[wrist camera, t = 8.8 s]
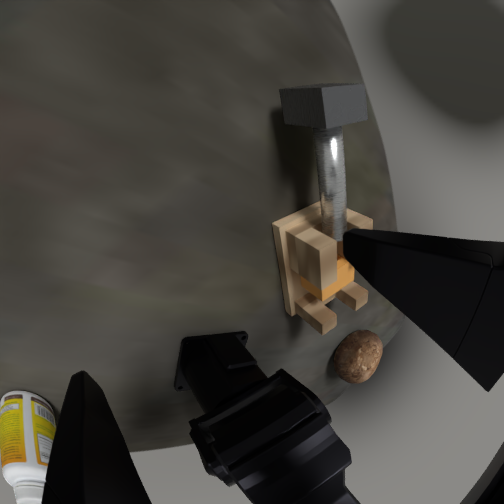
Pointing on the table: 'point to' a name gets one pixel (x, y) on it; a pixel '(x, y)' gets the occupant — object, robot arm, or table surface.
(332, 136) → the shaft
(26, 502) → the supplement bottle
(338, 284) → the block
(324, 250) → the bearing block
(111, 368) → the table surface
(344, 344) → the mushroom
